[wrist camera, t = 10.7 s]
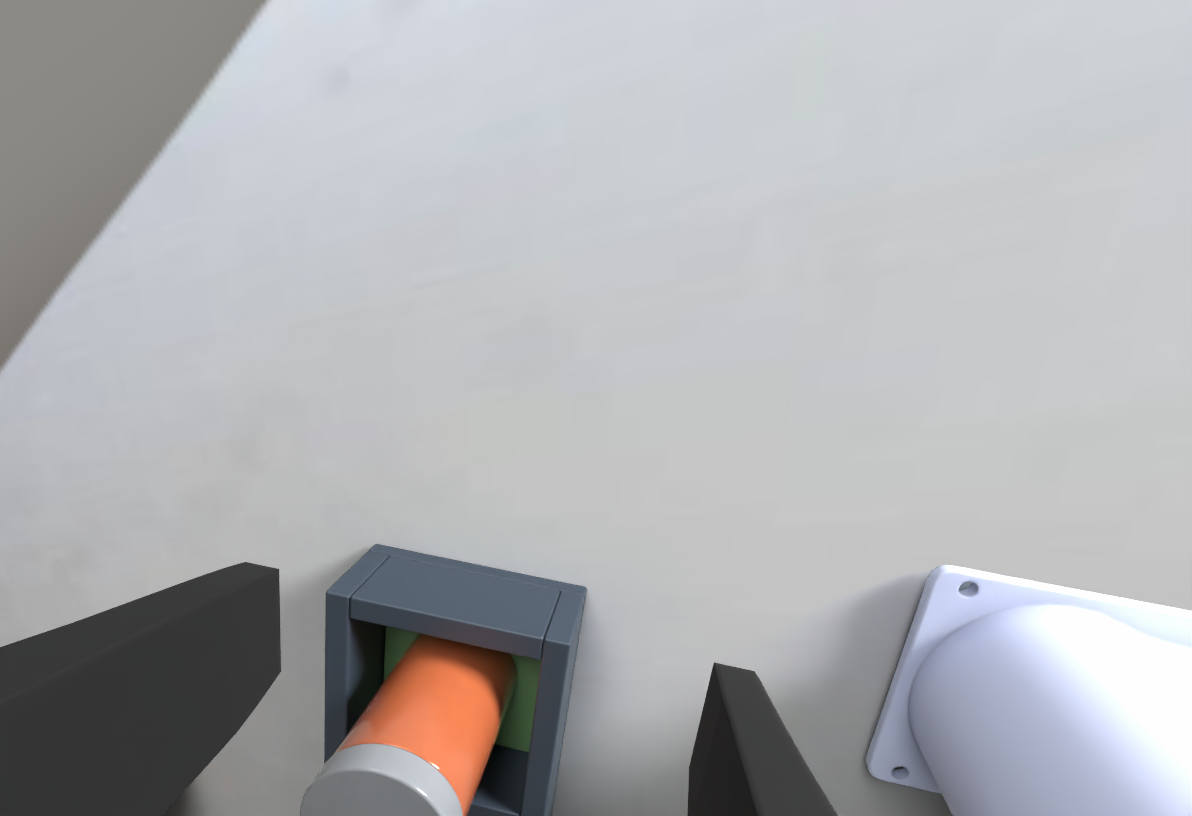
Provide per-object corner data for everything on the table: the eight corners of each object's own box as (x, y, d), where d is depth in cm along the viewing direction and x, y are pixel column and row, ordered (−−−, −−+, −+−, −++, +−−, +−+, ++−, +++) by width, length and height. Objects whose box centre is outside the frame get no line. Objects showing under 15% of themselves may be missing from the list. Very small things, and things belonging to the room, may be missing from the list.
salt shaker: (524, 631, 19) (458, 791, 13) (512, 728, 20) (447, 913, 15) (409, 606, 20) (297, 751, 14) (404, 702, 21) (298, 873, 15)
